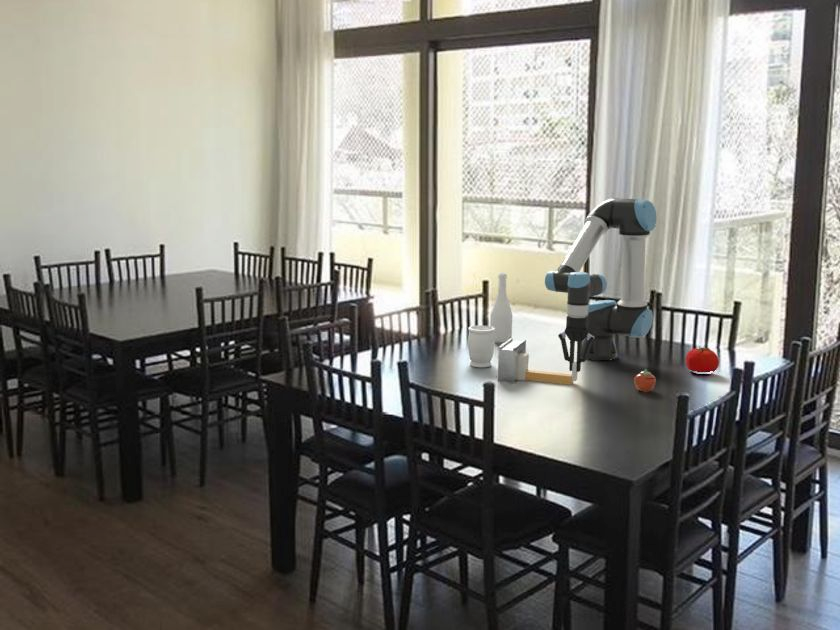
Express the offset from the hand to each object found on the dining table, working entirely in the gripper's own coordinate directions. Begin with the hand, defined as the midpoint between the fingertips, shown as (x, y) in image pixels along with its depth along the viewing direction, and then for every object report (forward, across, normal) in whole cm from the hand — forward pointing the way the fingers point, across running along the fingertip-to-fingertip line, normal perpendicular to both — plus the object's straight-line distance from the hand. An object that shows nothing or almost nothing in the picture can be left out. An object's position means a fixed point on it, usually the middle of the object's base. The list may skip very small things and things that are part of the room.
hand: (574, 379), depth 315 cm
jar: (+2, +39, -12) cm, 41 cm away
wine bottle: (+2, +44, -58) cm, 72 cm away
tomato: (+2, -42, -33) cm, 53 cm away
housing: (+1, +23, 0) cm, 23 cm away
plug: (+1, +13, 0) cm, 13 cm away
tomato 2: (+2, -25, 0) cm, 25 cm away
